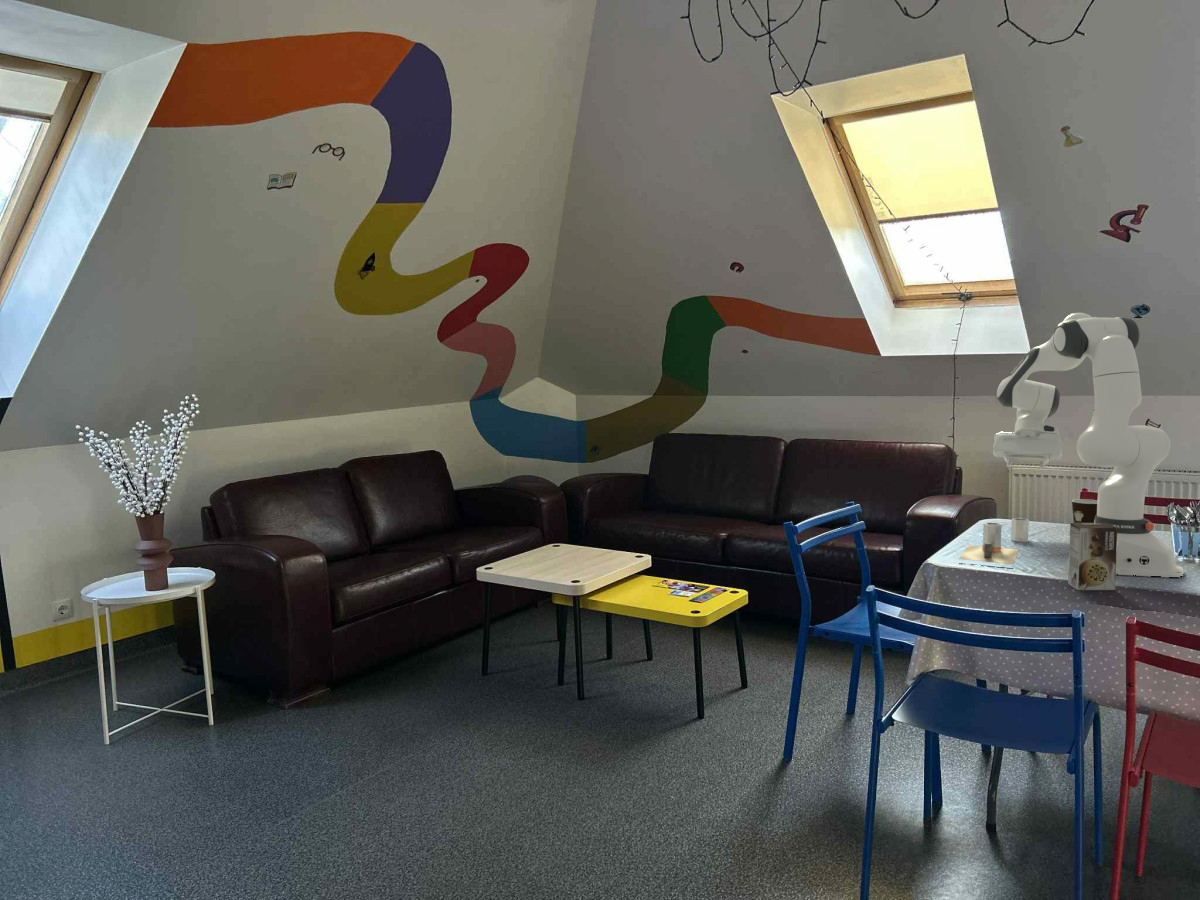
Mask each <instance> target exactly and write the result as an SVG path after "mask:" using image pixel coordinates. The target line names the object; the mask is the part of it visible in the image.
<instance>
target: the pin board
mask: <svg viewBox="0 0 1200 900" xmlns="http://www.w3.org/2000/svg"><path fill="white" fill-rule="evenodd" d="M1019 552H1020V549H1019V548H1018V549H1017V548H1006V547H1001V552H996V553H993V552H992V544H991V543H984V551H982V545H972V544H970V545H969V544H968V545H967V547H966V548H965V549H964V551H963V552H962V554H961V555H960V557H958V559H959V560H965V561H976V562H985V563H986V562H987V563H988V562H989V563H995V564H996V563H997V564H1009V565H1010V564H1012V565H1014V564H1015V560H1016V559H1017V557H1018V554H1019ZM963 564H965V563H962V562H959V563H958V565H963ZM970 564H971V565H970V566H974V565H976V564H975V563H974V564H973V563H970ZM980 565H981V566H980V567H984V566H987V567H986V568H995V567H996V569H997V568H998V569H1005V568H1006V570H1007V569H1008V570H1014V567H1004V566H993V565H983V564H980Z"/></svg>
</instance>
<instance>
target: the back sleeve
mask: <svg viewBox="0 0 1200 900" xmlns="http://www.w3.org/2000/svg"><path fill="white" fill-rule="evenodd" d="M982 532H983V534H982V545H981V546H982V551H984V543H991V544H992V552H993V553H996V552H1001V548H1002V523H1000V522H992V521H991V522H990V521H987V522H983V531H982Z"/></svg>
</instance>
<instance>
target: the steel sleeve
mask: <svg viewBox="0 0 1200 900" xmlns="http://www.w3.org/2000/svg"><path fill="white" fill-rule="evenodd" d="M1029 524H1030V519H1028V518H1023V517H1015V518H1014V517H1013V518H1012V519H1011V529H1010V531H1011V533H1010V541H1013V542H1016V543H1028V542H1029V541H1030V540H1029V530H1030V529H1029V528H1030V525H1029Z"/></svg>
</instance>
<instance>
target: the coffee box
mask: <svg viewBox="0 0 1200 900" xmlns="http://www.w3.org/2000/svg"><path fill="white" fill-rule="evenodd" d="M1069 528H1070V529H1069V552H1068V553H1069V555H1068V557H1069V558H1068V582H1067V583H1068V585H1070V586H1071V587H1072V588H1073V589H1075V590H1078V591H1116V579H1117V578H1116V577H1117V574H1116V549H1117V527H1114V526H1113V525H1111V524H1108V523H1074V522H1070V525H1069Z"/></svg>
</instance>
